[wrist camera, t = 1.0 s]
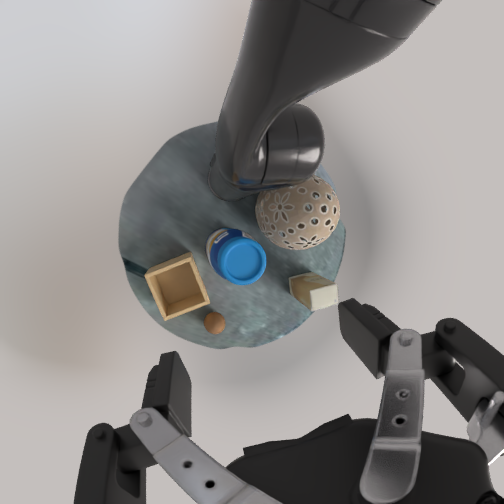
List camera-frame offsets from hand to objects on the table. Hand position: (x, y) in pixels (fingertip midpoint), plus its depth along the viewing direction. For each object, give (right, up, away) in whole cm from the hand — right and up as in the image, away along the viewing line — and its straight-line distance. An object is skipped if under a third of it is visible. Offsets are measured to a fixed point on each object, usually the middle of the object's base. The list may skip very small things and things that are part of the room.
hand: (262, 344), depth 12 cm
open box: (-16, -2, +43) cm, 46 cm away
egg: (-9, -10, +46) cm, 48 cm away
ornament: (+6, +13, +47) cm, 49 cm away
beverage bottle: (-6, +5, +45) cm, 46 cm away
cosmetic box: (+11, -3, +50) cm, 51 cm away
